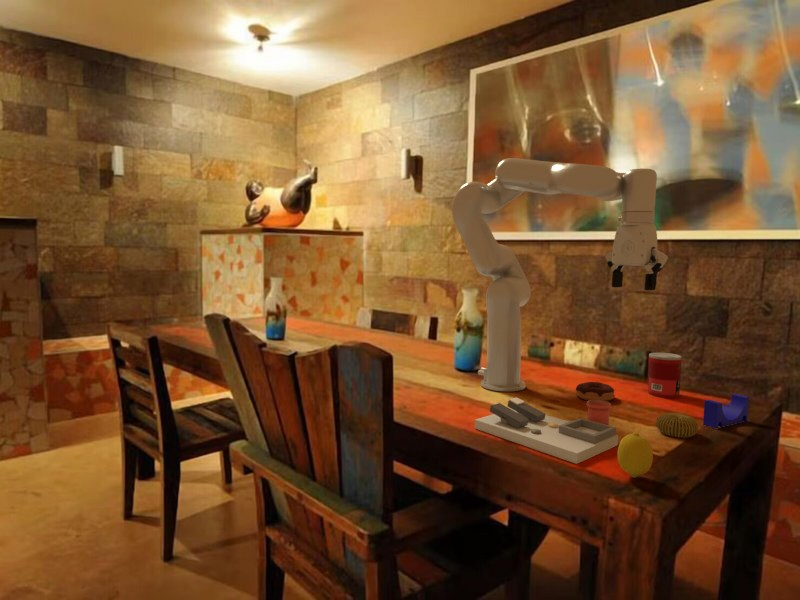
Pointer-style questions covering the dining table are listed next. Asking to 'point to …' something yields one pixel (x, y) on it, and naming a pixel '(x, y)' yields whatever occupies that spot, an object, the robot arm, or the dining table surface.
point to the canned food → (664, 375)
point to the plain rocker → (509, 415)
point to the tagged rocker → (526, 409)
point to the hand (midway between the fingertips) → (632, 288)
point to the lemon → (635, 454)
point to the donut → (595, 391)
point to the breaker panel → (555, 436)
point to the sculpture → (677, 425)
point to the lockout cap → (598, 411)
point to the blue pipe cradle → (726, 411)
